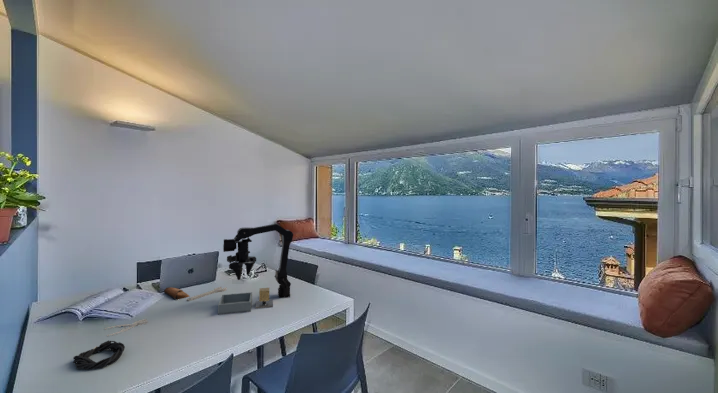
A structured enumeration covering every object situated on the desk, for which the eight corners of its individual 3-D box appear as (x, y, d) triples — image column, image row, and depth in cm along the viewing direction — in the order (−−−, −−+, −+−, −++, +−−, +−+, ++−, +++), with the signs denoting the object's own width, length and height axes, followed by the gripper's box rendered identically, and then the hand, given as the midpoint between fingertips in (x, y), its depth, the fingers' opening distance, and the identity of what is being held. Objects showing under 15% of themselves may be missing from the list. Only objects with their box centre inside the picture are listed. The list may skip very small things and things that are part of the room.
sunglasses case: (191, 296, 177) (185, 288, 174) (180, 305, 172) (173, 296, 170) (178, 289, 188) (172, 282, 185) (167, 298, 183) (161, 290, 181)
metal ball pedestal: (272, 301, 171) (272, 287, 171) (272, 307, 162) (273, 292, 162) (256, 302, 168) (256, 288, 168) (255, 308, 160) (255, 293, 159)
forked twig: (104, 326, 134) (144, 316, 145) (104, 329, 134) (144, 319, 145) (107, 333, 127) (149, 323, 138) (107, 337, 127) (149, 326, 138)
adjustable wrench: (187, 302, 168) (187, 299, 168) (181, 300, 172) (181, 297, 172) (228, 290, 190) (228, 287, 190) (222, 288, 193) (222, 285, 193)
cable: (128, 362, 109) (128, 350, 109) (75, 379, 99) (75, 366, 99) (119, 345, 121) (119, 334, 121) (71, 358, 111) (71, 347, 111)
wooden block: (269, 297, 168) (269, 287, 168) (269, 300, 163) (269, 290, 163) (259, 298, 167) (259, 288, 167) (259, 301, 162) (259, 291, 162)
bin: (252, 301, 171) (252, 292, 171) (250, 311, 156) (250, 301, 156) (222, 303, 166) (222, 294, 166) (218, 314, 151) (218, 304, 151)
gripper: (239, 246, 180) (240, 272, 180) (219, 253, 162) (220, 281, 162) (256, 247, 178) (256, 273, 178) (238, 253, 160) (238, 282, 160)
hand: (243, 277), depth 170 cm, fingers open, 9 cm apart
